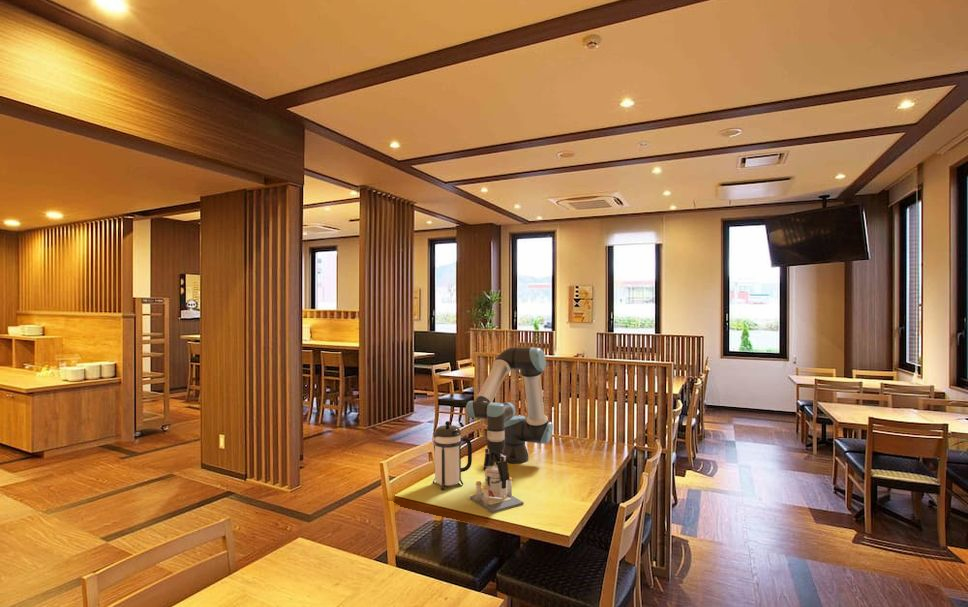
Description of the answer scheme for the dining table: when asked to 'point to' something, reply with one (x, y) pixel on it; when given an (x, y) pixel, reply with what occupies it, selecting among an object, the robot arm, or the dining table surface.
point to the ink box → (493, 481)
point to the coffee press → (449, 455)
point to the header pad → (495, 499)
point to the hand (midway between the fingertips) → (496, 491)
